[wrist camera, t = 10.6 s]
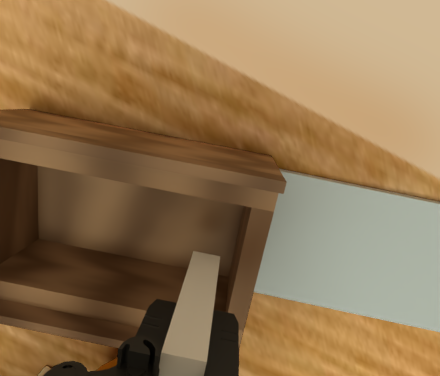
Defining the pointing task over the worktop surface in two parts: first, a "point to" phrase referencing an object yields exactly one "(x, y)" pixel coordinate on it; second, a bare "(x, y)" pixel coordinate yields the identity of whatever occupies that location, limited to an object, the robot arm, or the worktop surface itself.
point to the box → (122, 223)
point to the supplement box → (44, 371)
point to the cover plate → (354, 251)
